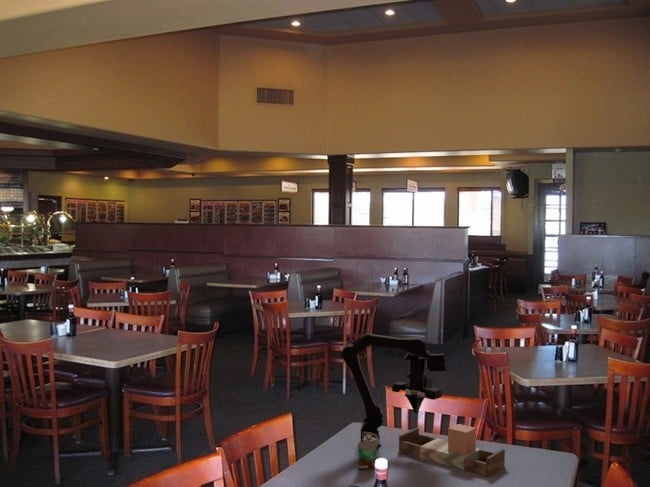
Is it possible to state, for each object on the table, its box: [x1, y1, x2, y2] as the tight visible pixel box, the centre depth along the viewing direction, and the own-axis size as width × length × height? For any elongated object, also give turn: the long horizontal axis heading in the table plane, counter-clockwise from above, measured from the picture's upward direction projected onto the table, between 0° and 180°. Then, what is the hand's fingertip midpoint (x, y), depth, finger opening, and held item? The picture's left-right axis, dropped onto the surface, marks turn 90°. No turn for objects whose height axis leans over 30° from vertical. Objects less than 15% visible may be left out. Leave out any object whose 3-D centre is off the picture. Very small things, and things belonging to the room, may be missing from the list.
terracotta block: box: [447, 423, 477, 456], centre depth 225 cm, size 7×7×8 cm
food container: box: [358, 432, 379, 471], centre depth 220 cm, size 12×6×10 cm, turn 168°
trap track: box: [398, 427, 506, 478], centre depth 228 cm, size 36×12×6 cm, turn 50°
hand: (416, 413), depth 239 cm, fingers closed
